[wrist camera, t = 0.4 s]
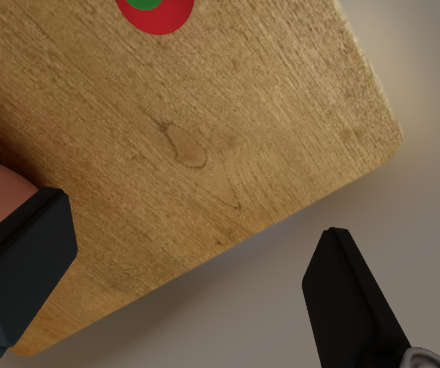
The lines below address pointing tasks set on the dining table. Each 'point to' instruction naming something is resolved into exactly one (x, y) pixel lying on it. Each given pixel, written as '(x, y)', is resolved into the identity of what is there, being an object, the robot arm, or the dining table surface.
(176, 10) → the tomato
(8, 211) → the teapot
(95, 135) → the dining table surface
